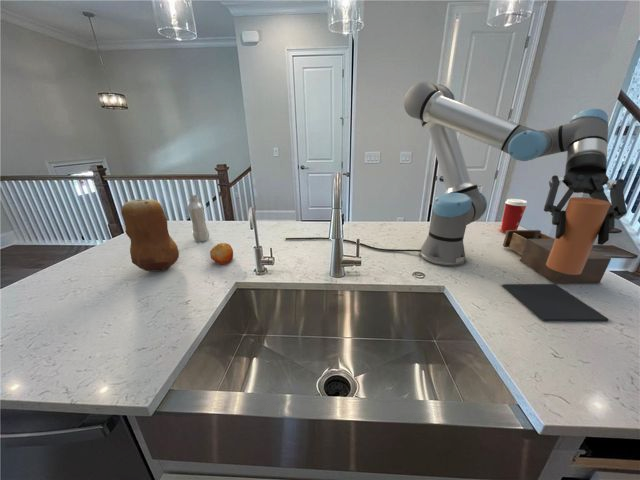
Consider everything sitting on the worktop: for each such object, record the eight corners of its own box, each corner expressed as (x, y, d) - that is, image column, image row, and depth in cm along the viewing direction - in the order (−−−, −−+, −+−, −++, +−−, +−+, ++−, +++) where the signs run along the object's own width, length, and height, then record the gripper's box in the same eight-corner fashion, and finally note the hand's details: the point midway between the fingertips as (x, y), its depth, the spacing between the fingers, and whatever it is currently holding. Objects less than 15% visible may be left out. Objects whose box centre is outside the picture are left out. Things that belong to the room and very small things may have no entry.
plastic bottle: (213, 239, 117) (205, 195, 109) (199, 244, 112) (190, 198, 104) (204, 236, 120) (196, 193, 112) (191, 241, 115) (181, 196, 107)
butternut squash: (174, 256, 101) (158, 192, 91) (186, 268, 92) (170, 199, 82) (132, 269, 92) (109, 199, 82) (141, 283, 83) (117, 207, 73)
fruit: (242, 253, 99) (232, 241, 93) (231, 271, 95) (219, 259, 89) (226, 250, 102) (215, 237, 96) (214, 266, 98) (202, 255, 92)
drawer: (496, 241, 108) (500, 226, 106) (525, 241, 108) (530, 226, 106) (528, 262, 91) (534, 244, 89) (564, 262, 91) (571, 244, 88)
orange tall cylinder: (548, 270, 67) (574, 202, 60) (543, 259, 72) (566, 196, 65) (585, 277, 63) (616, 206, 56) (577, 265, 69) (604, 199, 62)
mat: (543, 321, 65) (543, 319, 64) (502, 285, 79) (502, 284, 79) (607, 320, 64) (608, 319, 64) (554, 285, 79) (555, 284, 79)
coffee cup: (522, 235, 117) (532, 203, 111) (502, 234, 118) (511, 202, 113) (513, 229, 124) (522, 198, 119) (494, 228, 126) (502, 197, 120)
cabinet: (519, 260, 95) (526, 238, 91) (557, 260, 94) (565, 238, 91) (555, 283, 80) (565, 258, 77) (599, 283, 80) (611, 258, 77)
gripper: (630, 172, 66) (630, 253, 60) (533, 168, 76) (524, 238, 69) (651, 152, 60) (653, 240, 53) (542, 150, 70) (533, 225, 63)
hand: (580, 239), depth 61 cm, fingers closed on orange tall cylinder, 7 cm apart
